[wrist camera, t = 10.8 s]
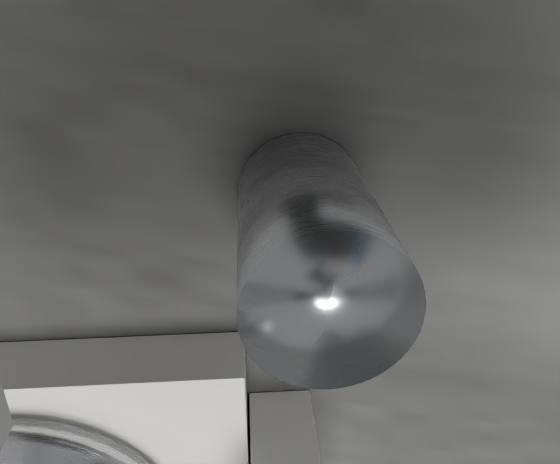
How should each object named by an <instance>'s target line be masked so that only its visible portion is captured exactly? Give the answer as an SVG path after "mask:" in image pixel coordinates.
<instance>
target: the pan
mask: <svg viewBox="0 0 560 464" xmlns="http://www.w3.org/2000/svg"><path fill="white" fill-rule="evenodd" d="M12 421H13V424H14V425H13V427H12V429H11V431H10V433H9V435H8V437H7V439H6V441H5V443H4V445H3V447H2V449H1V451H0V464H150V463H149V462H148V461H146V460H145V459H144V458H143V457H141V456H140V455H138V454H137V453H135V452H134V451H132V450H131V449H129V448H127V447H126V446H124V445H122V444H120V443H118V442H116V441H114V440H112V439H110V438H107V437H105V436H102V435H100V434H97V433H95V432H92V431H89V430H86V429H82V428H79V427H75V426H71V425H68V424H62V423H57V422H51V421H46V420H35V419H24V418H12Z"/></svg>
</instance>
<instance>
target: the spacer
mask: <svg viewBox="0 0 560 464" xmlns="http://www.w3.org/2000/svg"><path fill="white" fill-rule="evenodd" d="M425 309H426V298H425V290H424V286H423V282H422V280H421V278H420V275H419V273H418V271H417V269H416V268H415V266H414V264H413V263H412V261H411V259H410V258H409V256H408V254H407V252H406V251H405V249H404V247H403V246H402V244H401V242H400V240H399V239H398V237H397V235H396V234H395V232H394V230H393V229H392V227H391V225H390V223H389V222H388V220H387V218H386V217H385V215H384V213H383V211H382V210H381V208H380V206H379V205H378V203H377V201H376V200H375V198H374V196H373V194H372V193H371V191H370V189H369V188H368V186H367V184H366V182H365V181H364V179H363V177H362V176H361V174H360V172H359V171H358V169H357V167H356V165H355V164H354V162H353V160H352V159H351V157H350V156H349V155H348V153H347V152H346V151H345V150H344V149H343V148H342V147H341V146H340V145H338V144H337V143H335V142H334V141H332V140H330V139H328V138H326V137H324V136H321V135H317V134H312V133H291V134H286V135H282V136H279V137H277V138H274V139H272V140H270V141H268V142H267V143H265V144H264V145H262V146H261V147H260V148H259V149H258V150H257V151H255V153H254V154H253V155H252V156H251V157H250V159H249V160H248V162H247V163H246V165H245V167H244V169H243V171H242V174H241V177H240V181H239V191H238V255H237V328H238V333H239V336H240V339H241V342H242V344H243V346H244V348H245V350H246V351H247V353H248V354H249V356H250V357H251V358H252V360H253V361H254V362H255V363H256V364H257V365H258V366H259V367H260V368H262V369H263V370H264V371H265V372H267V373H268V374H270V375H271V376H273V377H275V378H277V379H279V380H281V381H283V382H286V383H289V384H292V385H295V386H299V387H304V388H311V389H335V388H342V387H347V386H352V385H355V384H358V383H362V382H364V381H367V380H369V379H371V378H373V377H375V376H377V375H379V374H381V373H383V372H384V371H386V370H387V369H388V368H390V367H391V366H393V365H394V364H395V363H396V362H397V361H398V360H400V359H401V358H402V357H403V355H404V354H405V353H406V352H407V351H408V350H409V348H410V347H411V346H412V344H413V343H414V341H415V340H416V338H417V336H418V334H419V332H420V329H421V327H422V324H423V320H424V316H425Z"/></svg>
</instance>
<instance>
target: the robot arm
mask: <svg viewBox="0 0 560 464" xmlns="http://www.w3.org/2000/svg"><path fill="white" fill-rule="evenodd" d="M13 425H14V424H13V421H12V417H11V414H10V411H9V407H8V404H7V401H6V397H5V394H4V390H3V387H2V384H1V380H0V451H1V449H2V447H3V445H4V443H5V441H6V439H7V437H8V435H9V433H10V431H11V429H12V427H13Z"/></svg>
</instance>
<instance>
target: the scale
mask: <svg viewBox="0 0 560 464" xmlns="http://www.w3.org/2000/svg"><path fill="white" fill-rule="evenodd" d="M0 380H1V384H2V387H3V390H4V394H5V397H6V401H7V404H8V407H9V411H10V414H11V417H12V418H24V419H35V420H46V421H51V422H57V423H62V424H68V425H71V426H75V427H79V428H82V429H86V430H89V431H92V432H95V433H97V434H100V435H102V436H105V437H107V438H110V439H112V440H114V441H116V442H118V443H120V444H122V445H124V446H126V447H127V448H129V449H131V450H132V451H134V452H135V453H137V454H138V455H140V456H141V457H143V458H144V459H145V460H146V461H148V462H149V463H150V464H250V455H249V431H248V408H247V384H246V361H245V348H244V346H243V344H242V342H241V339H240V336H239V333H238V332H227V333H204V334H181V335H158V336H135V337H112V338H89V339H66V340H43V341H20V342H0ZM249 398H250V451H251V464H322V463H321V457H320V451H319V445H318V439H317V433H316V427H315V420H314V414H313V408H312V402H311V396H310V390H303V391H283V392H263V393H249Z"/></svg>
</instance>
